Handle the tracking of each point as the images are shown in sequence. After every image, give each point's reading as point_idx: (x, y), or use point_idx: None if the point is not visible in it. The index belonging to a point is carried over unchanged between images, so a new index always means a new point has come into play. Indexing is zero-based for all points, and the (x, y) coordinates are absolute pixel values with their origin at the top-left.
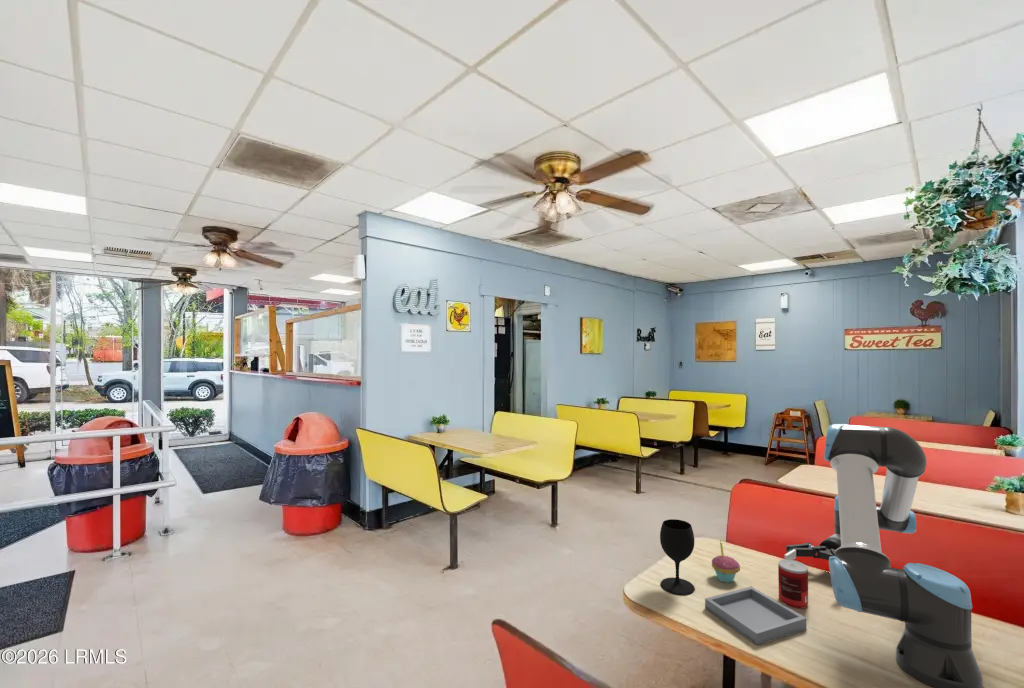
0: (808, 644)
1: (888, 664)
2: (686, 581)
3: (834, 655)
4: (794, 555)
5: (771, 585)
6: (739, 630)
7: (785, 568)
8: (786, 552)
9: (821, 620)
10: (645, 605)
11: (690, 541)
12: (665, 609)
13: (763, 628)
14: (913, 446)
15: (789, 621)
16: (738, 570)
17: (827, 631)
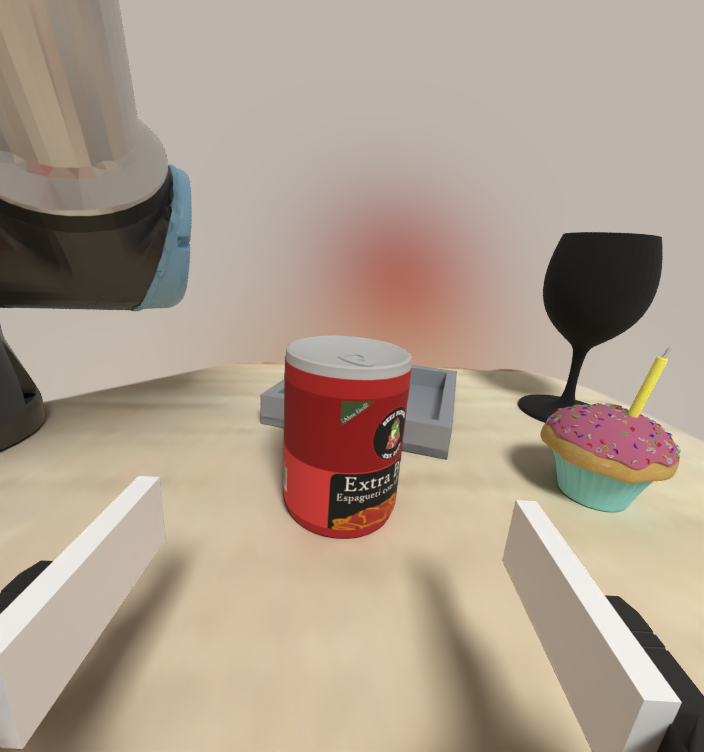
0: (247, 397)
1: (75, 413)
2: None
3: (196, 395)
4: (590, 687)
5: (477, 558)
6: None
7: (356, 337)
8: (625, 603)
9: (227, 464)
10: (507, 371)
11: (550, 268)
12: (482, 375)
13: None
14: None
15: None
16: (551, 442)
17: (209, 437)
